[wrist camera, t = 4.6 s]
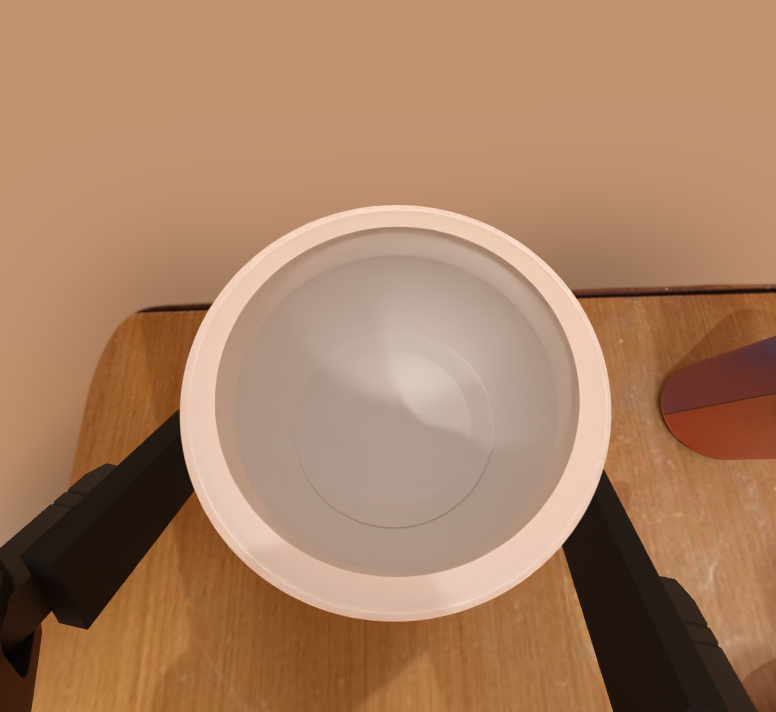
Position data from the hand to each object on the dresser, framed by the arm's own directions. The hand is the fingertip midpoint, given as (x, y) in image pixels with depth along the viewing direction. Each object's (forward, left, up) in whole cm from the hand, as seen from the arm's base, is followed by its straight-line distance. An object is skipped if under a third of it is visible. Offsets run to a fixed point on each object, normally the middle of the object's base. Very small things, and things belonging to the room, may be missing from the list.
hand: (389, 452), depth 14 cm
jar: (-1, +1, -10) cm, 10 cm away
